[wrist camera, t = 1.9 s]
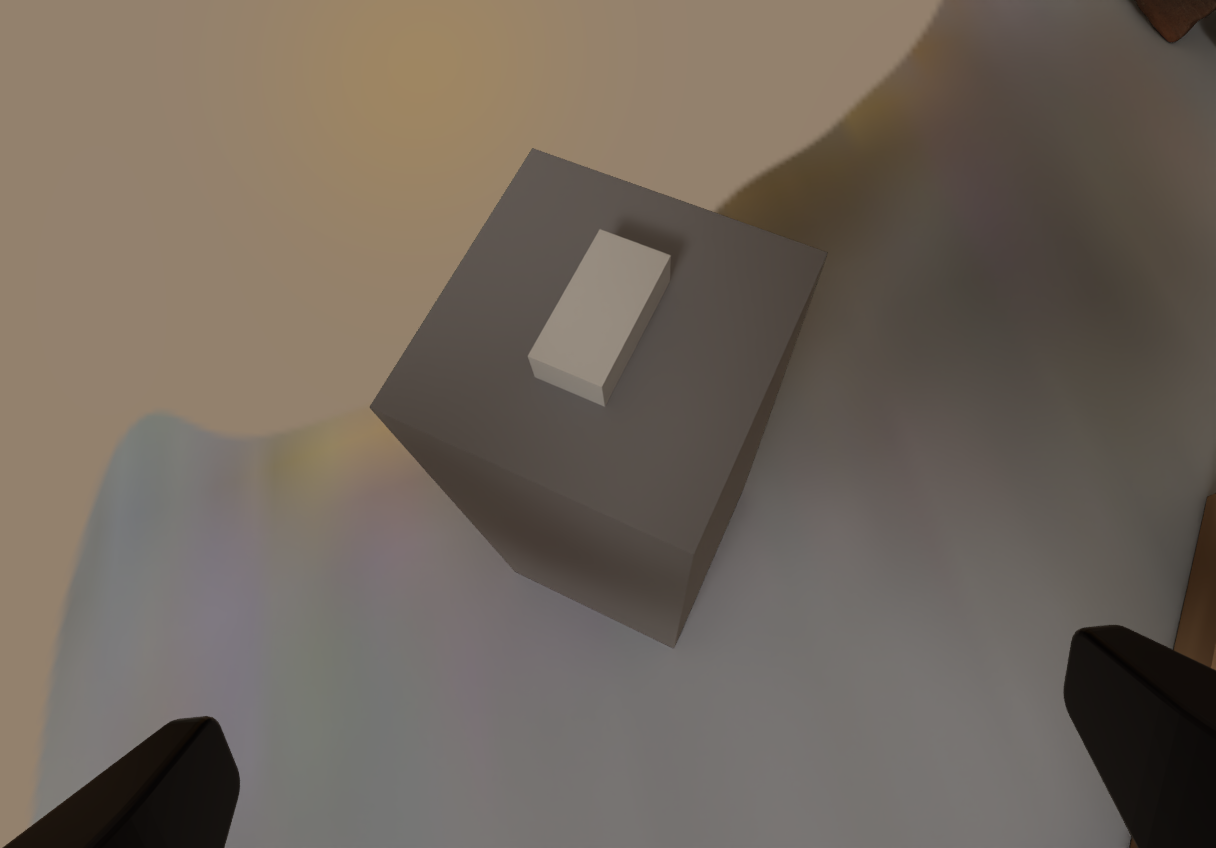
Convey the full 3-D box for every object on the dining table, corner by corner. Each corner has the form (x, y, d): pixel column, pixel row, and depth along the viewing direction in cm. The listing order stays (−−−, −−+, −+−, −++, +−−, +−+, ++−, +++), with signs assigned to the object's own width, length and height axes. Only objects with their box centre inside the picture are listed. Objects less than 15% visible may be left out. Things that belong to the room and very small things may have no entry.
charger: (673, 648, 19) (696, 542, 8) (515, 571, 20) (352, 387, 9) (742, 489, 21) (837, 225, 10) (591, 424, 22) (525, 118, 11)
